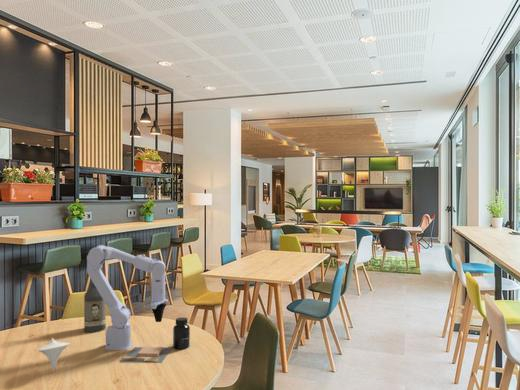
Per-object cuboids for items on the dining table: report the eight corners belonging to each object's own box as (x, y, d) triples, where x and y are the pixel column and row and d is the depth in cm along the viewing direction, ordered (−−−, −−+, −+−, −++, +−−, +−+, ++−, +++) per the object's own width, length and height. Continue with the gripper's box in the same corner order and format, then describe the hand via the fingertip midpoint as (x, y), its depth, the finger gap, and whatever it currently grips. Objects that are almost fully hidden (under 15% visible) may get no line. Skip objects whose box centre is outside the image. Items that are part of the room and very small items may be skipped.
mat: (119, 363, 154) (119, 362, 154) (134, 348, 170) (134, 347, 170) (161, 363, 153) (161, 362, 153) (172, 348, 169) (172, 347, 169)
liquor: (84, 327, 198) (84, 266, 198) (104, 325, 201) (104, 264, 202) (84, 333, 189) (84, 268, 190) (105, 330, 193) (105, 267, 193)
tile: (143, 350, 166) (137, 357, 159) (143, 346, 166) (137, 353, 159) (162, 350, 166) (157, 357, 159) (162, 346, 166) (157, 353, 159)
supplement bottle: (186, 351, 166) (185, 321, 166) (170, 350, 168) (170, 320, 168) (192, 345, 173) (192, 316, 173) (177, 344, 174) (177, 316, 174)
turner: (120, 361, 155) (120, 359, 155) (124, 358, 158) (124, 355, 158) (156, 362, 154) (156, 359, 154) (159, 358, 158) (159, 355, 158)
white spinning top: (33, 372, 147) (33, 338, 147) (64, 363, 155) (64, 331, 155) (42, 381, 140) (42, 346, 140) (74, 371, 147) (74, 338, 147)
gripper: (162, 293, 166) (163, 326, 166) (172, 286, 181) (172, 316, 181) (145, 293, 167) (146, 326, 167) (156, 286, 181) (156, 316, 181)
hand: (158, 321), depth 174 cm, fingers closed
